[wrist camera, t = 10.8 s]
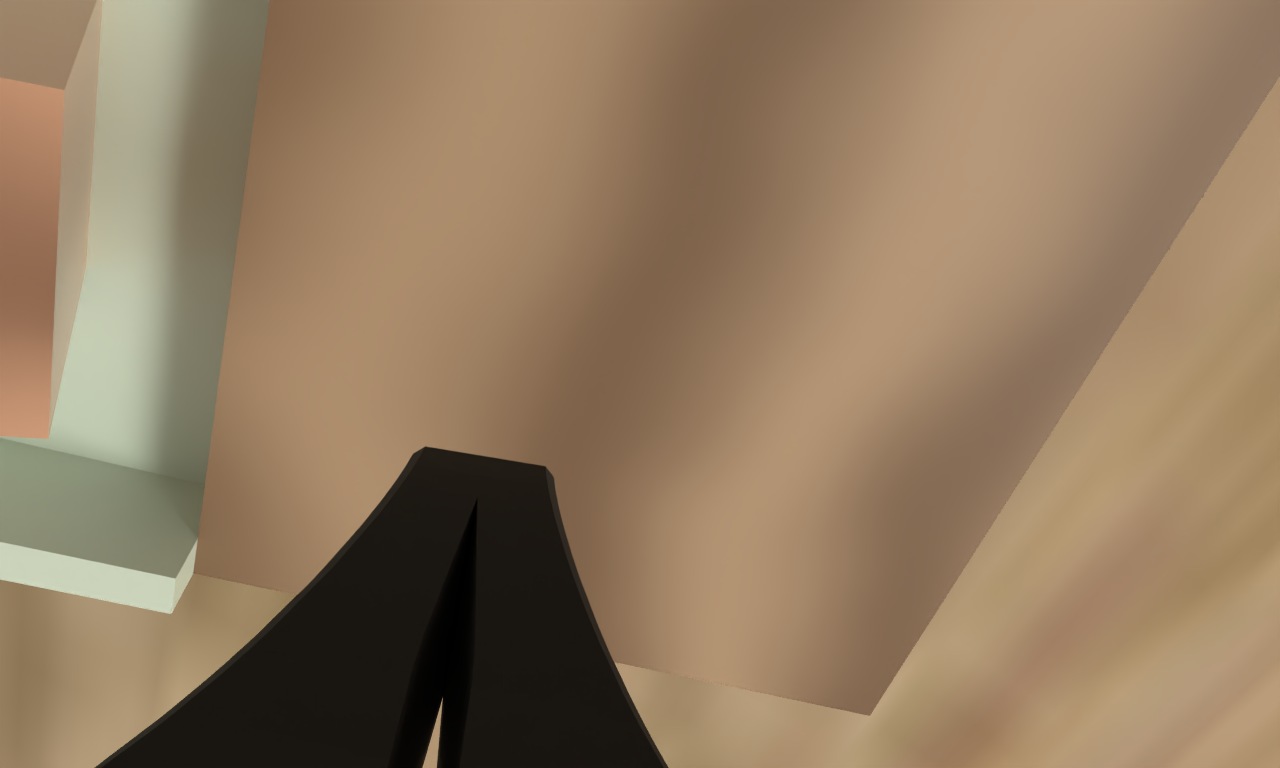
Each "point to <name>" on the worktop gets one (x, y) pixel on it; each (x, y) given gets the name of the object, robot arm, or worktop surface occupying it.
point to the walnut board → (706, 287)
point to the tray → (143, 311)
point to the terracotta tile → (43, 196)
